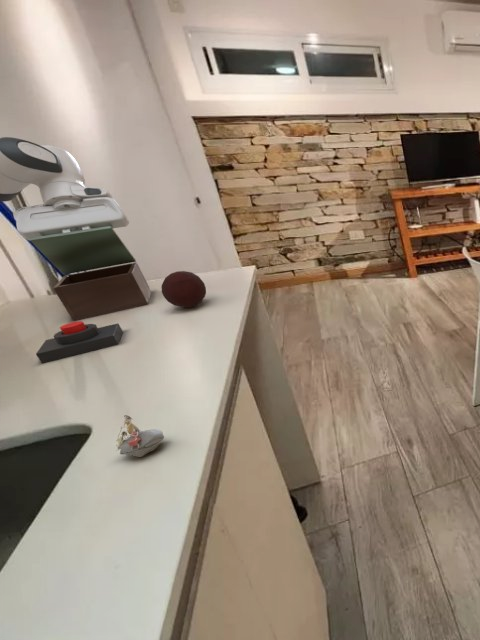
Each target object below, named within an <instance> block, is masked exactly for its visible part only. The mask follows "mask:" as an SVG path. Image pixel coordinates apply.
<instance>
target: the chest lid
mask: <svg viewBox="0 0 480 640" xmlns="http://www.w3.org/2000/svg"><path fill="white" fill-rule="evenodd" d="M28 241H29V242H30V243H31V244H32V245H34V247H35V248H37V249H38V251H39V252H40V253H42V255H44V257H45V258H46V259H47V260H48V261H49V262H50V263H51V264H52V265H53V267H55V268H56V269H57V270H58V271H59V272H60V273H61V274H62V275H64V276H65V275H70V274H75V273H81V272H86V271H92V270H97V269H103V268H108V267H113V266H119V265H124V264H130V263H135V262H137V260H136V258H135V257H134V255H133V254H132V253H131V252H130V250H129V248H128V247H127V246H126V245H125V243H124V242H123V241H122V239H121V238H120V236H119V235H118V233H117V232H116V231H115V230H114V228H112V227H111V226H106V227H99V228H93V229H86V230H79V231H73V232H66V233H59V234H53V235H46V236H39V237H32V238H29V240H28Z"/></svg>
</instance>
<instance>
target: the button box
mask: <svg viewBox="0 0 480 640" xmlns="http://www.w3.org/2000/svg"><path fill="white" fill-rule="evenodd" d="M84 324H85V326H86V328H87V329H85V330H82V331H79V332H76V333H72V334H66V335H64V334H63V332H62V330H60V331H58V332H56V333H54V335H53V338H49V339H46V340H45V341H44V342H43V343H42V345H41V346H40V347H39V349H38V351H37V352H36V353H35V355H36V357H37V359H38V360H39V361H40V363H41V364H44V363H49V362H53V361H57V360H60V359H65V358H69V357H73V356H76V355H80V354H85V353H89V352H93V351H97V350H100V349H105V348H108V347H113V346H116V345H119V343H120V341H121V338H122V335H123V333H124V330H123V329H122V327H121V326H120V324H119V323H118V322H117V323H113V324H108V325H105V326H100V327H98V326H97V324H94V323H84Z"/></svg>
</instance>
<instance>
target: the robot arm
mask: <svg viewBox="0 0 480 640" xmlns="http://www.w3.org/2000/svg"><path fill="white" fill-rule="evenodd" d="M31 184H32V185H34V186H36V187H38V189H39V193H40V196H41V199H42V203H43V204H36V205H30V206H20V207H19V208H17V209H16V210H14V211H13V212H12V215H13V219H14V220H15V224H16V230H17V232H18V234H19V235H20V236H21V237H22V238H23V239H25V240H27V241H30V240H29V238H32V237H39V236H46V235H53V234H59V233H66V232H73V231H79V230H86V229H93V228H99V227H106V226H111V227H112V228H113V229H119V228H125V227H128V226H129V224H130V221H129V219H128V217H127V215H126V213H125V212H124V210H123V209H122V207H121V205H119V203H118V202H117V201H116V200H115V198H114V197H113V195H112V194H111V193H110V192H109V191H108V190H107V189H106V188H103V187H90V186H85V185H86V179H85V176H84V174H83V171H82V169H81V167H80V165H79V163H78V161H77V160H76V159H75V157H74V156H73V155H72V154H71V153H69V152H68V151H67V150H66V149H64V148H61V147H59V146H55V145H51V144H42V145H41V144H37V143H36V142H32V141H29V140H25V139H22V138H17V137H12V136H11V137H10V136H4V137H0V202H5V203H6V202H10V201H12V200H14V199H15V198H16V197H17V196H18V195H19V194H20V193H21V192H22V191H23V190H24V189H25V188H27V187H28V186H30V185H31Z"/></svg>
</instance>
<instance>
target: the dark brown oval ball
mask: <svg viewBox="0 0 480 640" xmlns="http://www.w3.org/2000/svg"><path fill="white" fill-rule="evenodd" d="M161 293H162V296H163V298H164V300H166V301H167V302H168V303H169V304H171V305H172V306H175V307H180V308H192V307H195V306H197V305H199V304H201V303H202V302H203V300H204V298H206V295H207V287H206V284H205V282H204V281H203V280H202V278H201V277H200V276H199V275H197V274H195V273H194V272H192V271H186V270H180V271H177V270H176V271H175V272H174V271H173V272H171V273H170V274H168V275H166V277H164V279H163V281H162V283H161Z"/></svg>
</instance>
